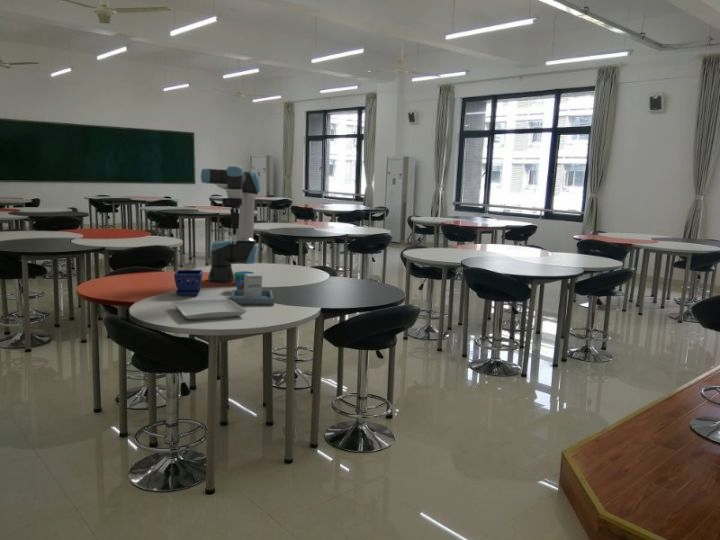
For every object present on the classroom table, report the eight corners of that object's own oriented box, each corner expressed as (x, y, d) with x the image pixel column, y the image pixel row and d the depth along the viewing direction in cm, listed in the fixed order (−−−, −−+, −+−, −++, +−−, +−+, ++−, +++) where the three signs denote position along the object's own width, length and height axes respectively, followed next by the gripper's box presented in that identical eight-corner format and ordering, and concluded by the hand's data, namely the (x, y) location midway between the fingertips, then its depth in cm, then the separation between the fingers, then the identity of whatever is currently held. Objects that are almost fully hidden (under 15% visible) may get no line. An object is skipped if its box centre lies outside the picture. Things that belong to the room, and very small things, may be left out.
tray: (232, 296, 283) (232, 289, 282) (271, 296, 287) (271, 290, 287) (231, 305, 264) (231, 298, 263) (273, 305, 268) (273, 298, 267)
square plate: (247, 318, 242) (247, 309, 242) (184, 323, 229) (183, 314, 228) (229, 305, 265) (229, 297, 265) (170, 309, 252) (170, 301, 251)
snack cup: (228, 289, 300) (228, 271, 299) (245, 287, 307) (246, 269, 305) (241, 294, 288) (242, 275, 287) (259, 292, 295) (260, 274, 293)
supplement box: (247, 301, 270) (247, 275, 268) (243, 298, 276) (243, 273, 274) (261, 300, 273) (262, 275, 271) (257, 297, 279) (258, 272, 277)
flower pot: (173, 297, 275) (173, 273, 273) (176, 291, 288) (176, 269, 286) (200, 297, 278) (200, 274, 276) (203, 291, 291) (203, 269, 289)
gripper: (226, 195, 288) (226, 235, 292) (226, 198, 264) (226, 242, 268) (241, 196, 290) (240, 236, 294) (242, 199, 266) (242, 242, 270)
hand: (234, 239), depth 281 cm, fingers open, 13 cm apart
